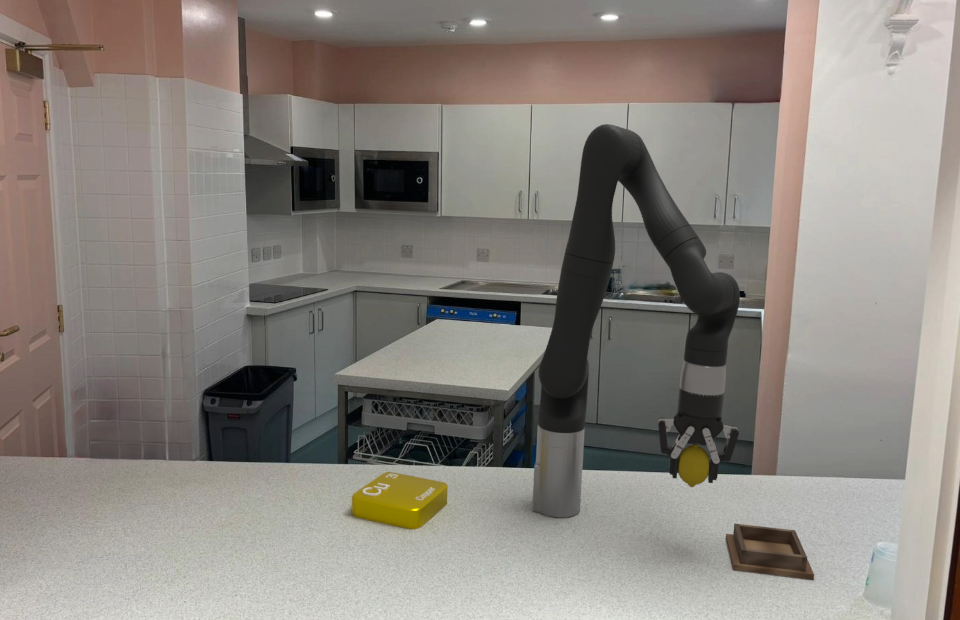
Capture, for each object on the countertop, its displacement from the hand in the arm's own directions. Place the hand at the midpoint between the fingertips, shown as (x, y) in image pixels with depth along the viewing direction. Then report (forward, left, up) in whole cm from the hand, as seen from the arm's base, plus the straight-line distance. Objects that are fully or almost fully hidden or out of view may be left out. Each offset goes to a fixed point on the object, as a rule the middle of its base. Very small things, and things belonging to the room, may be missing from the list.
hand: (692, 478), depth 137 cm
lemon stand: (+14, 0, -13) cm, 19 cm away
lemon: (0, 0, -2) cm, 2 cm away
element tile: (-55, +3, -14) cm, 57 cm away
